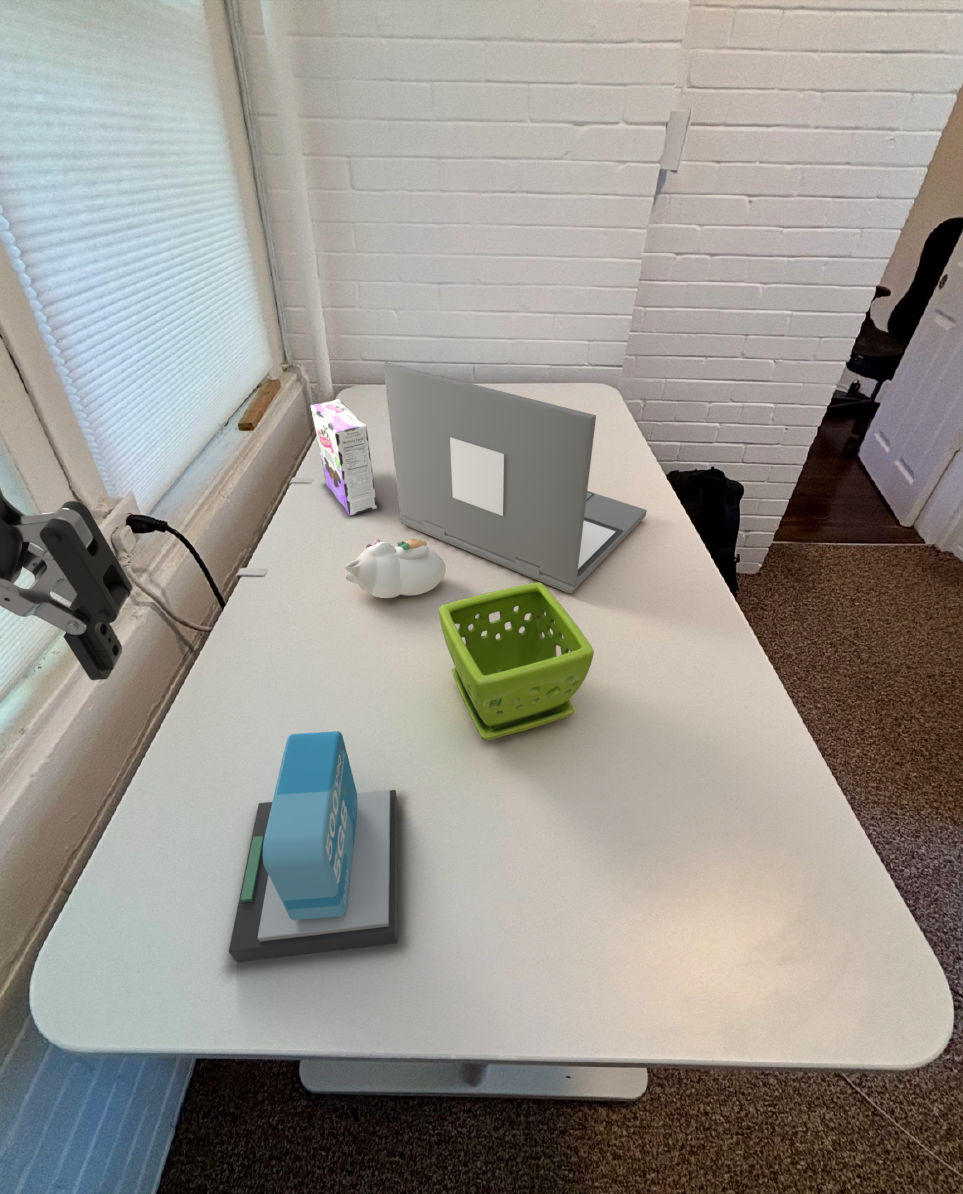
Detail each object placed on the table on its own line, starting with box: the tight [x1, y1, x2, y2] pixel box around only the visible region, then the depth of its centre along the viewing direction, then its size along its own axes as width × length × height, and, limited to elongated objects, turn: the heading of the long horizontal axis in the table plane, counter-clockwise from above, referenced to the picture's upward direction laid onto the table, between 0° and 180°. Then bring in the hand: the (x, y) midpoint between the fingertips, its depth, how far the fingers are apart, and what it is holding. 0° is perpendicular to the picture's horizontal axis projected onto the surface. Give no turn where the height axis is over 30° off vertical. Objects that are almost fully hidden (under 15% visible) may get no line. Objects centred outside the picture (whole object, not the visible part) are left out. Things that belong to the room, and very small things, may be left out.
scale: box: [228, 789, 399, 963], centre depth 56 cm, size 14×14×3 cm
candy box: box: [310, 398, 378, 516], centre depth 108 cm, size 14×6×16 cm, turn 30°
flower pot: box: [438, 581, 595, 741], centre depth 70 cm, size 14×14×13 cm
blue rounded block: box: [263, 730, 358, 920], centre depth 51 cm, size 12×4×12 cm, turn 4°
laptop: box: [382, 361, 648, 594], centre depth 96 cm, size 35×26×28 cm
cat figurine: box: [344, 538, 446, 599], centre depth 88 cm, size 10×8×15 cm
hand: (29, 675), depth 34 cm, fingers open, 8 cm apart
